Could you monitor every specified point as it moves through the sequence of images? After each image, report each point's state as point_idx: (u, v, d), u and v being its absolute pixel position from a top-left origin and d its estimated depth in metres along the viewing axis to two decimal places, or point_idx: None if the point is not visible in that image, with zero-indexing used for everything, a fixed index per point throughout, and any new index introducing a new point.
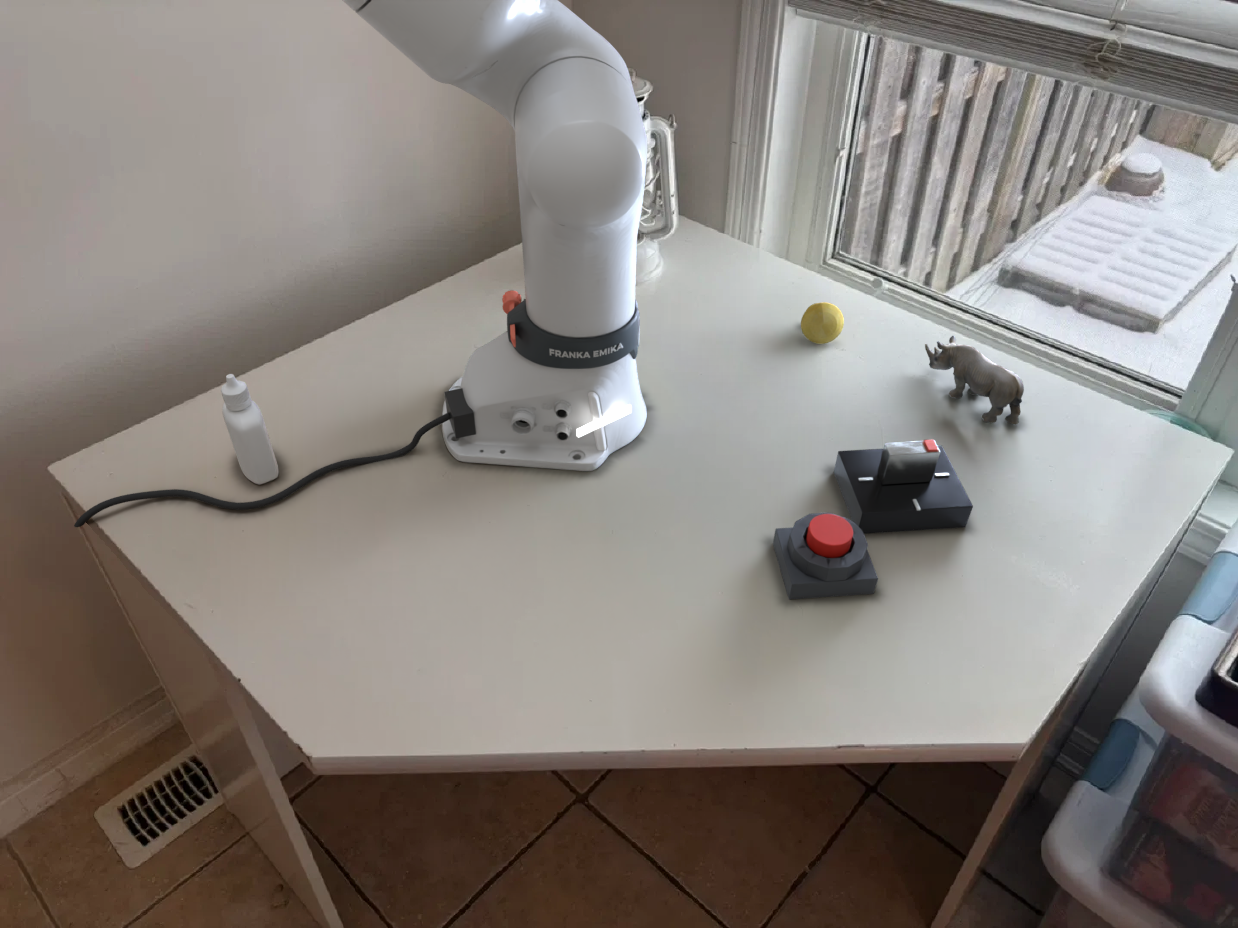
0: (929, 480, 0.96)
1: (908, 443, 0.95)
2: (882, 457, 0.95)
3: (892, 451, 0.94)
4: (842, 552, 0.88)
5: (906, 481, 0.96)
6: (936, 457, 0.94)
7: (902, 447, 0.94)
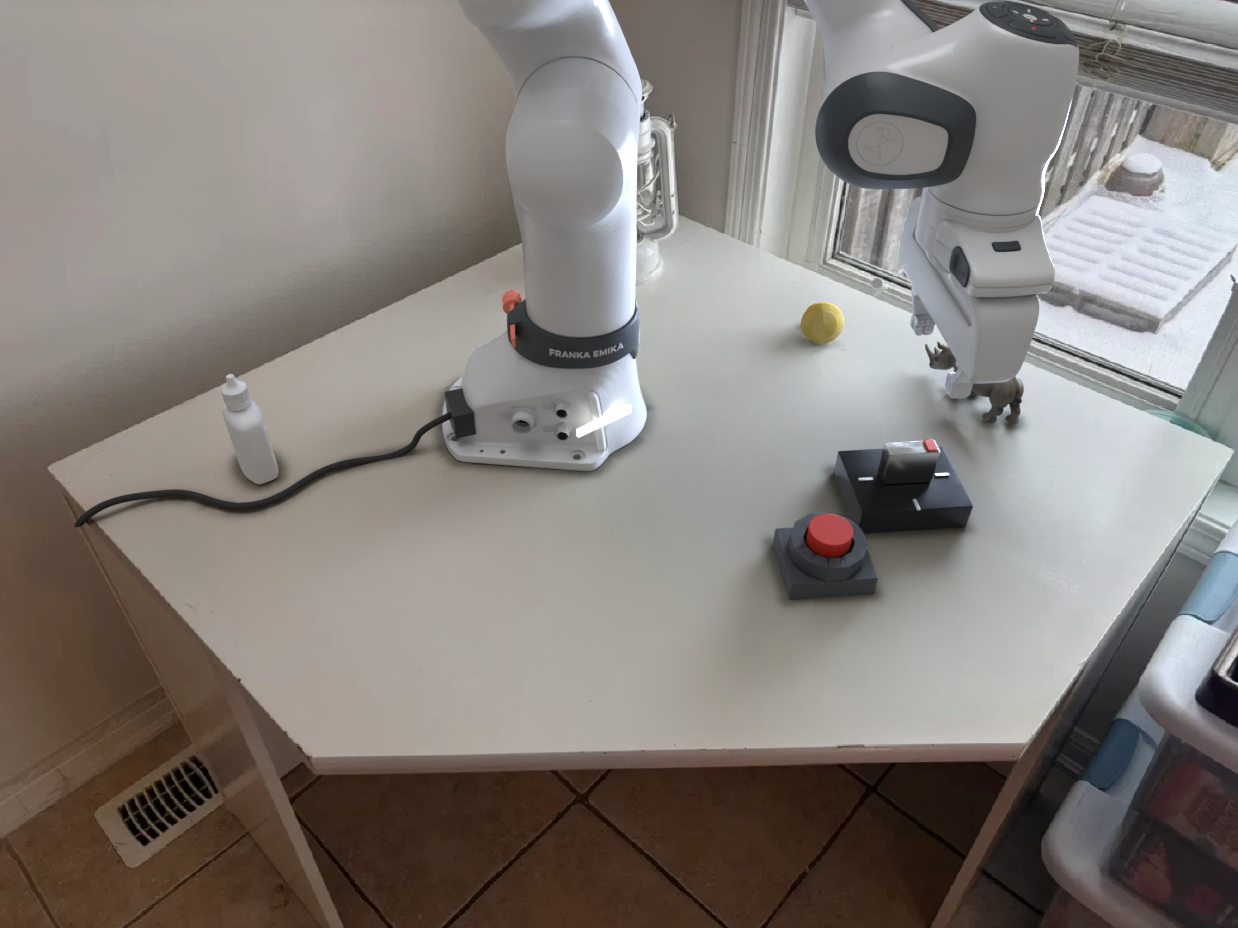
0: (929, 480, 0.96)
1: (908, 443, 0.95)
2: (882, 457, 0.95)
3: (892, 451, 0.94)
4: (842, 552, 0.88)
5: (906, 481, 0.96)
6: (936, 457, 0.94)
7: (902, 447, 0.94)
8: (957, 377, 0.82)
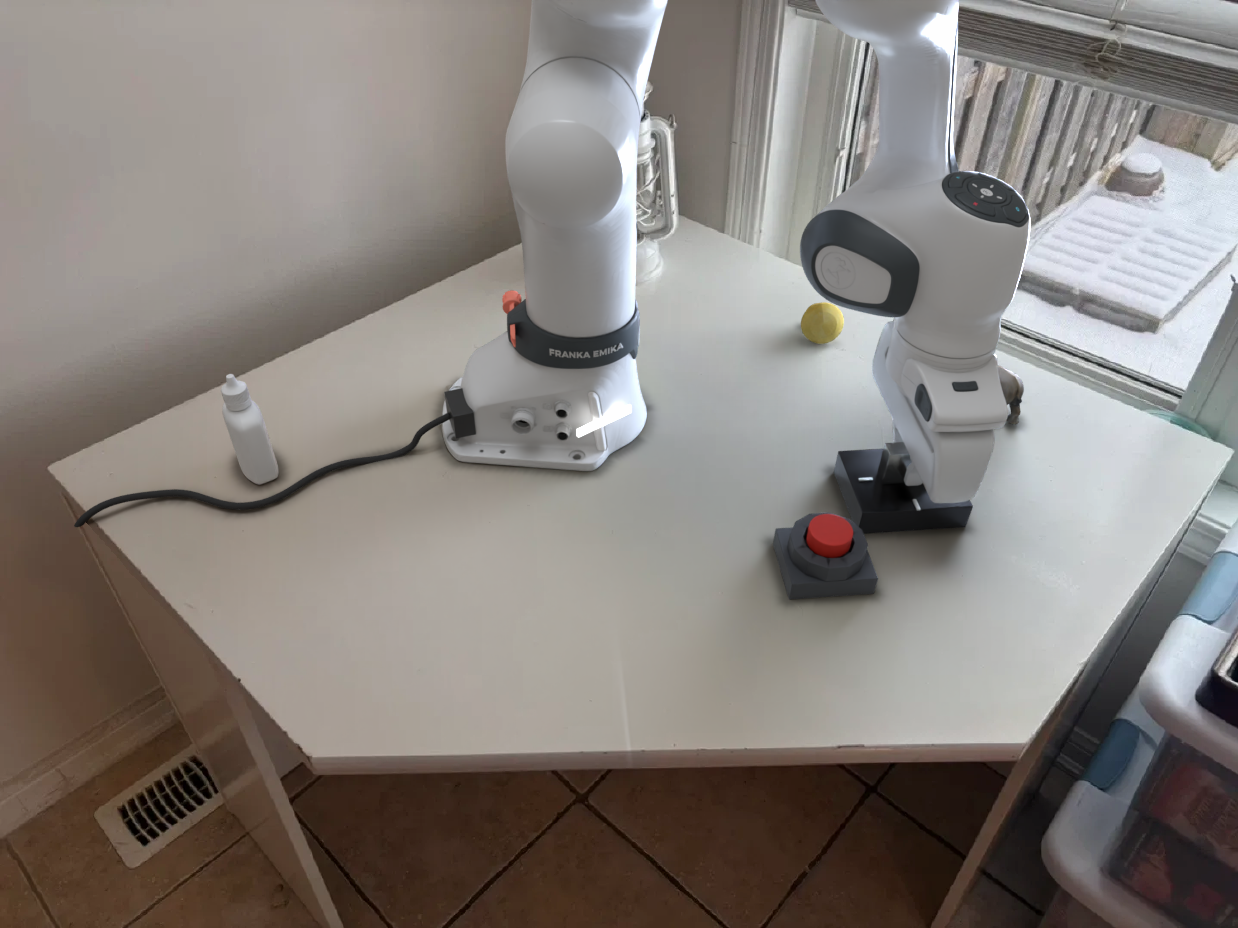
0: None
1: None
2: (882, 457, 0.95)
3: (892, 451, 0.94)
4: (842, 552, 0.88)
5: None
6: None
7: (902, 447, 0.94)
8: (911, 469, 0.92)
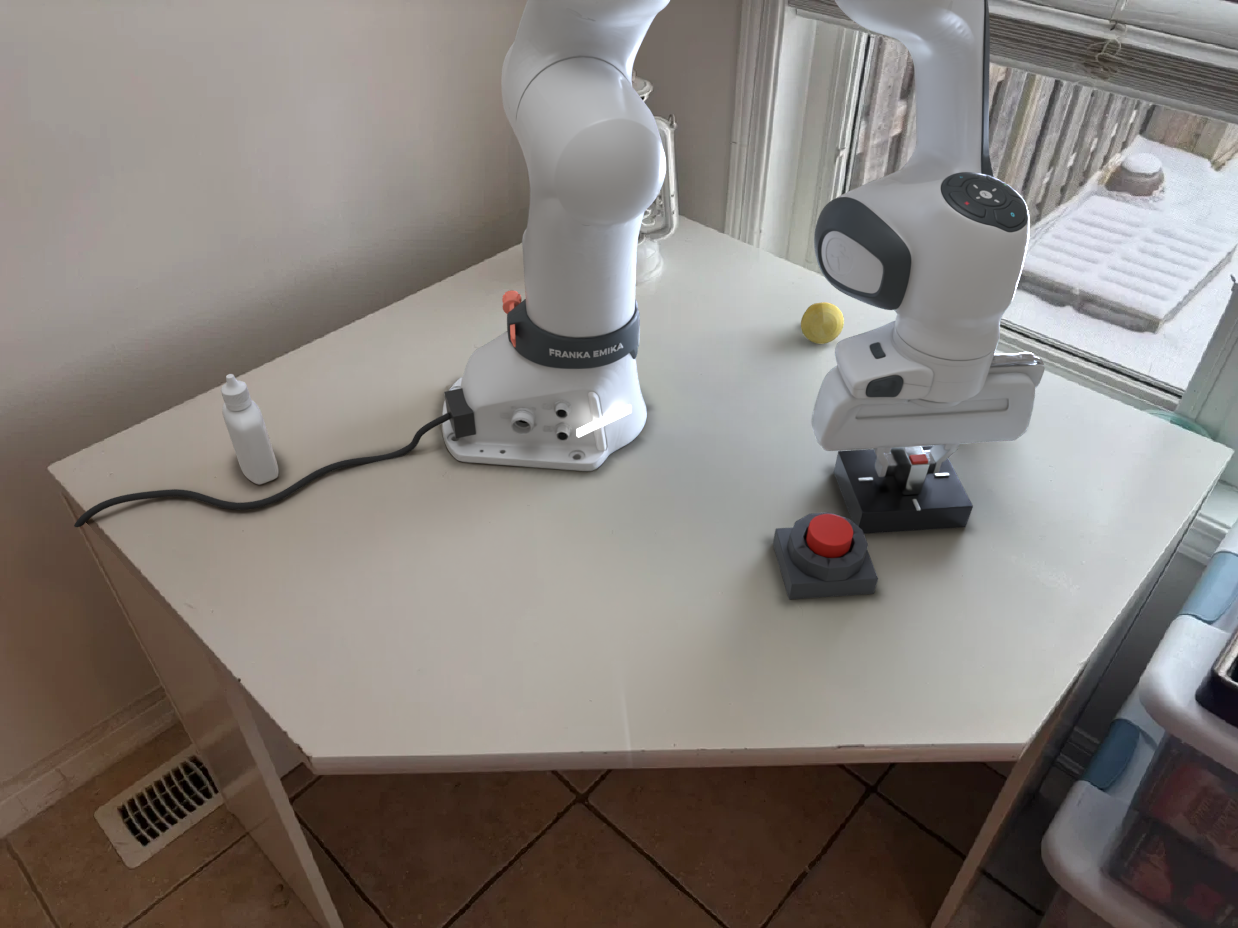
0: (902, 491, 0.95)
1: None
2: None
3: None
4: (842, 552, 0.88)
5: (895, 475, 0.97)
6: (909, 468, 0.93)
7: None
8: None
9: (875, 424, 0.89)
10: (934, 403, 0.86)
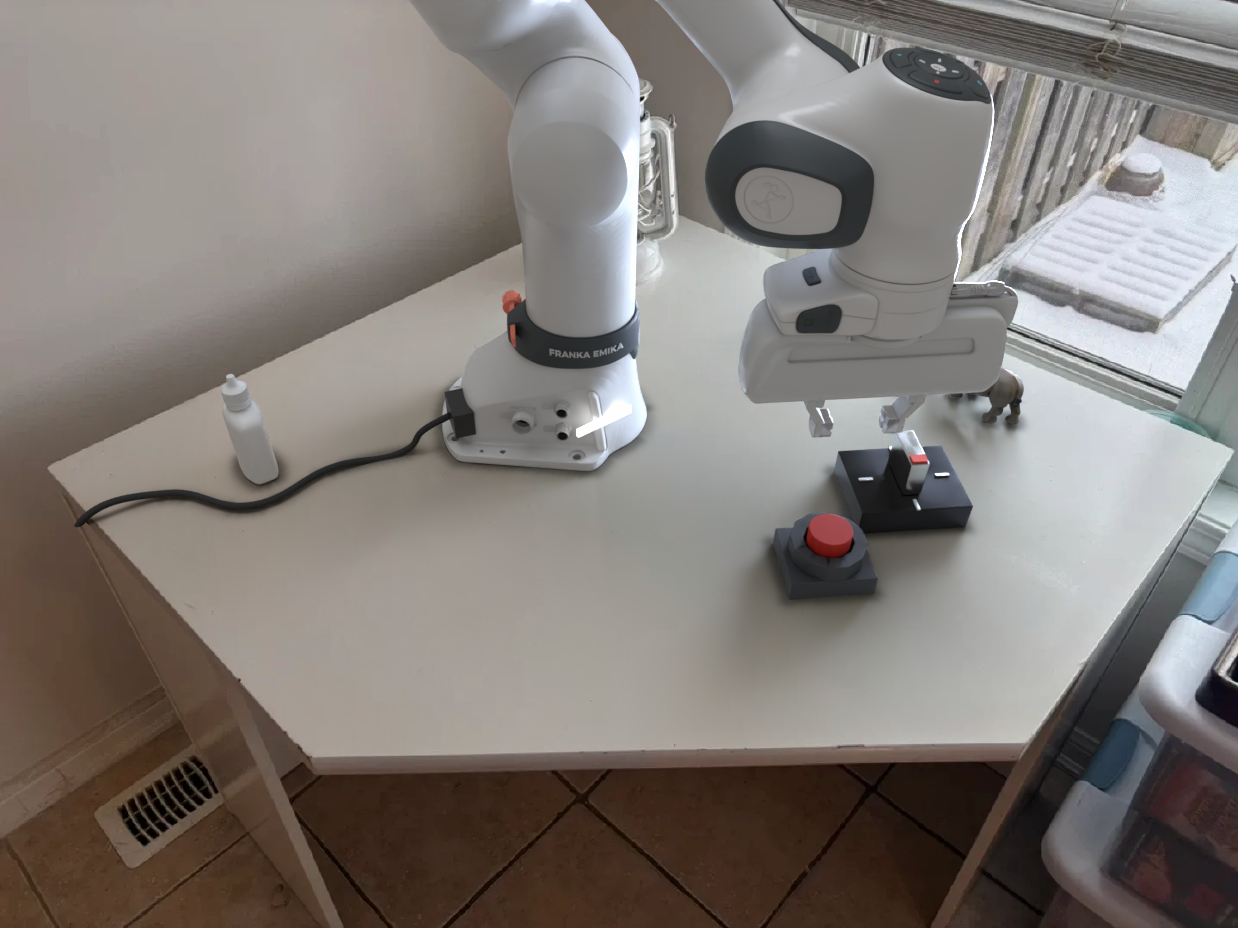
0: (902, 491, 0.95)
1: (917, 445, 0.94)
2: None
3: (901, 433, 0.96)
4: (842, 552, 0.88)
5: (895, 475, 0.97)
6: (909, 468, 0.93)
7: (909, 440, 0.95)
8: None
9: (812, 369, 0.73)
10: (882, 342, 0.71)
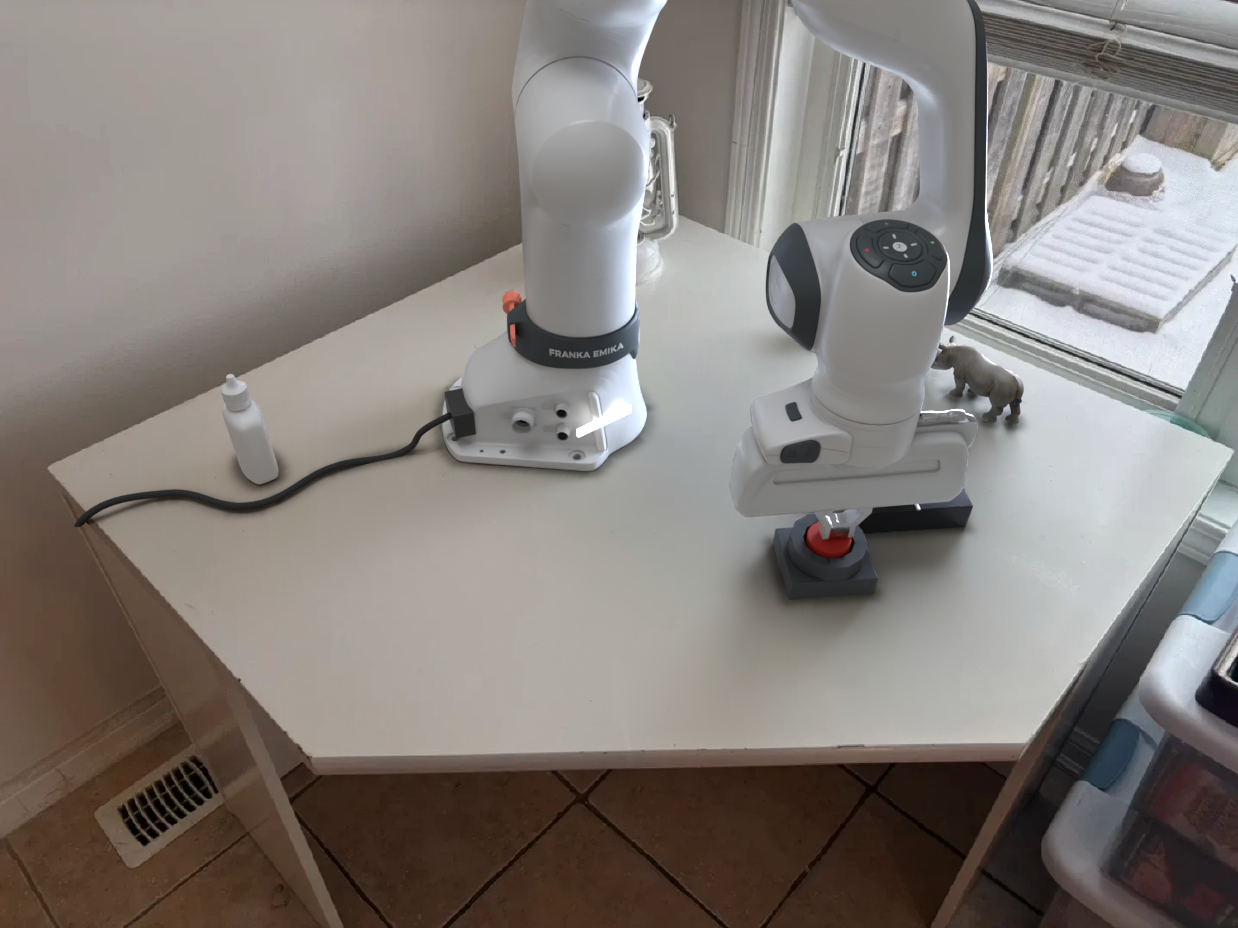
0: None
1: None
2: None
3: None
4: None
5: None
6: None
7: None
8: None
9: (795, 488, 0.82)
10: (857, 467, 0.79)
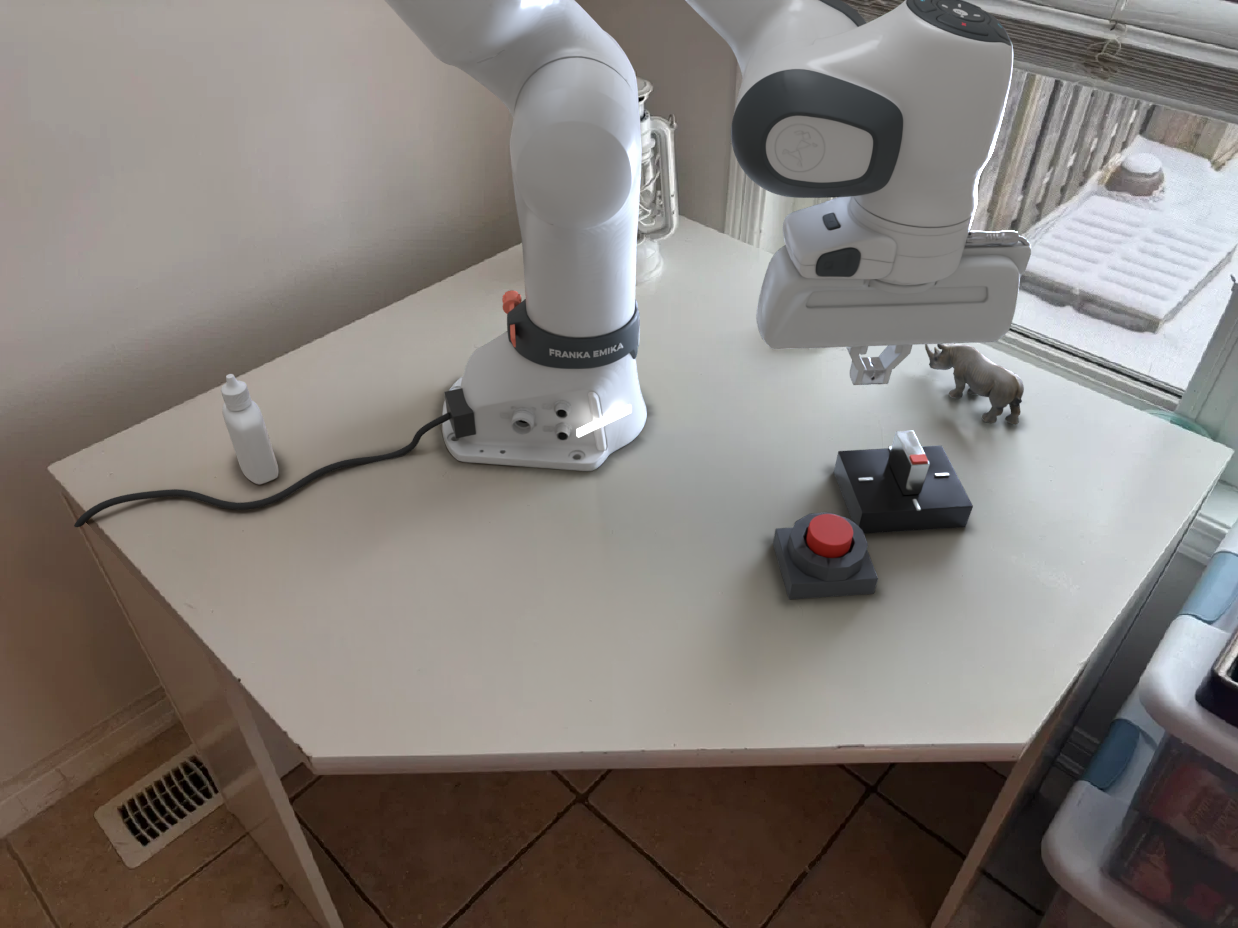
0: (902, 491, 0.95)
1: (917, 445, 0.94)
2: None
3: (901, 433, 0.96)
4: (842, 552, 0.88)
5: (895, 475, 0.97)
6: (909, 468, 0.93)
7: (909, 440, 0.95)
8: None
9: (829, 315, 0.75)
10: (898, 287, 0.72)
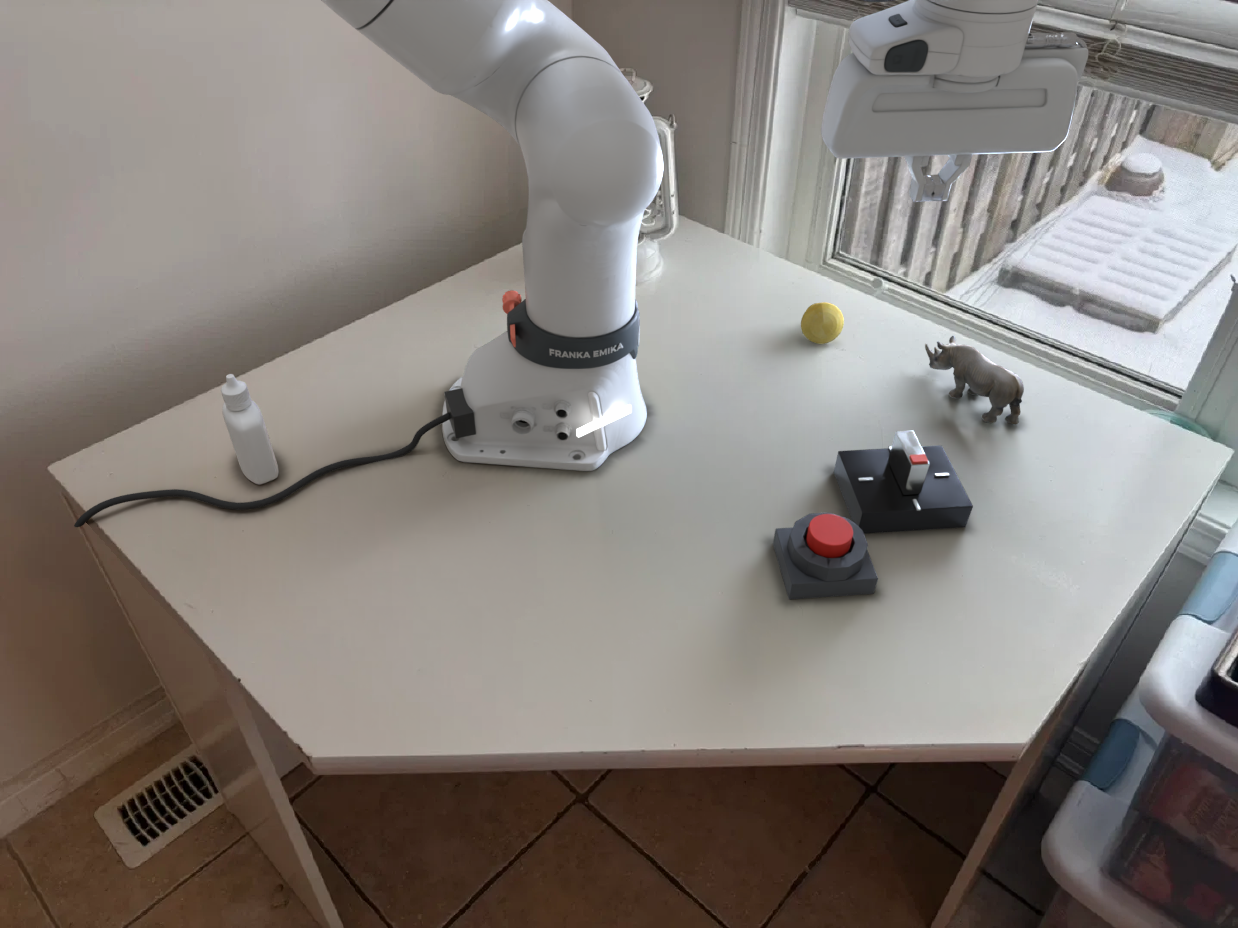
0: (902, 491, 0.95)
1: (917, 445, 0.94)
2: None
3: (901, 433, 0.96)
4: (842, 552, 0.88)
5: (895, 475, 0.97)
6: (909, 468, 0.93)
7: (909, 440, 0.95)
8: (908, 164, 0.84)
9: (894, 119, 0.78)
10: (963, 85, 0.75)
